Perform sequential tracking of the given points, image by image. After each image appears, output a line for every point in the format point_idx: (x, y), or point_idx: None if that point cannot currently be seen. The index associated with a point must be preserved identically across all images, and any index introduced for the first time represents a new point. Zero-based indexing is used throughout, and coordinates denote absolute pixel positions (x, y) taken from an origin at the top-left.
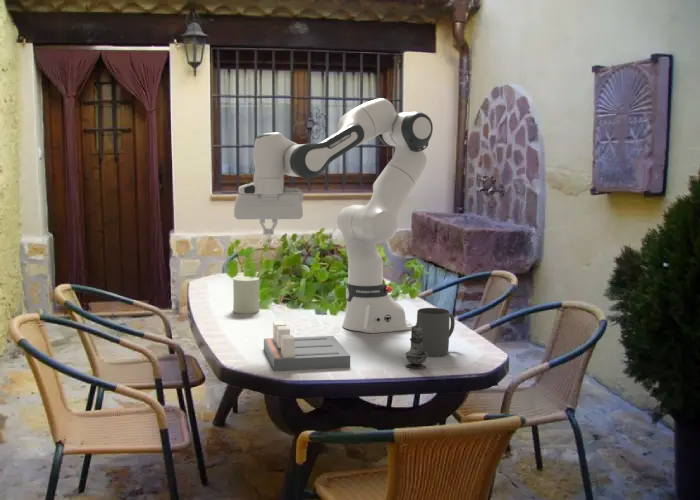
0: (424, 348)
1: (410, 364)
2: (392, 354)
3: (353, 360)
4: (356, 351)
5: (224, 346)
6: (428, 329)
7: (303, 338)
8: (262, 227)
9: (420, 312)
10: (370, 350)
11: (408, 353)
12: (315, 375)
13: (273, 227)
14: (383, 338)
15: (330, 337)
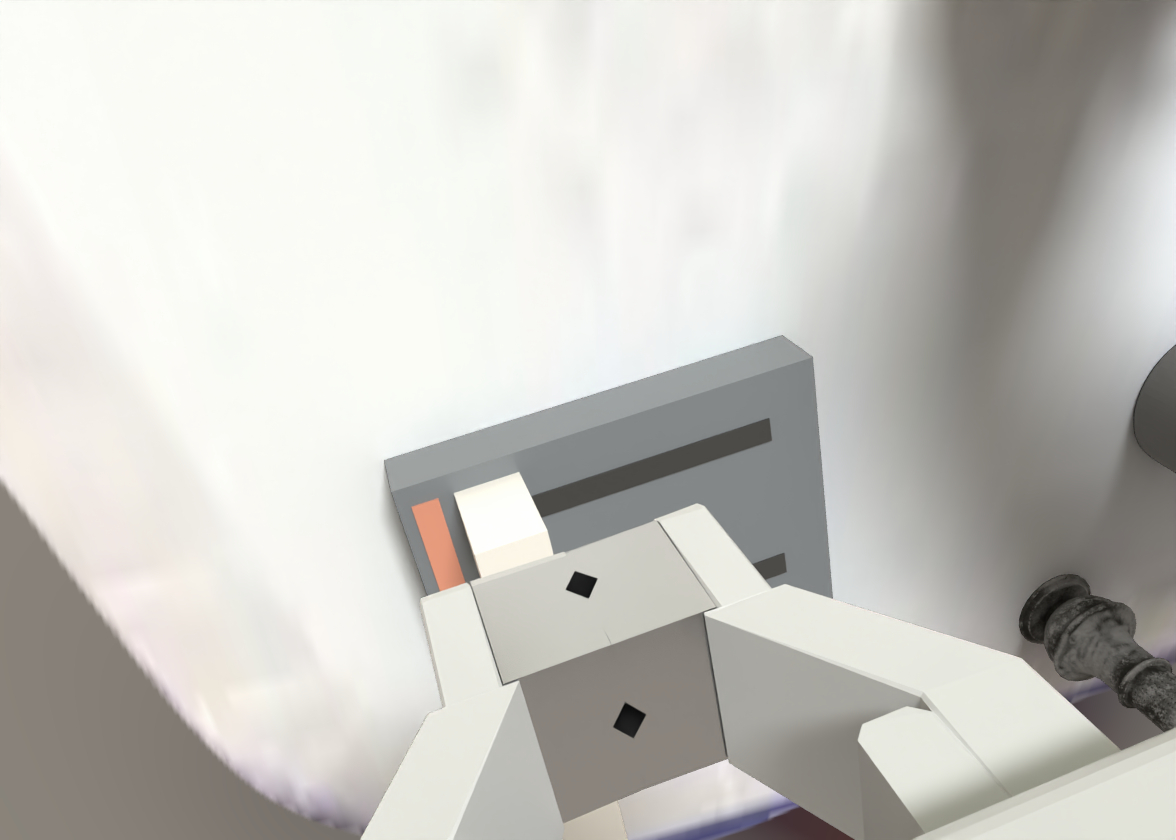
0: (1171, 469)
1: (1043, 610)
2: (1027, 449)
3: (843, 573)
4: (883, 424)
5: (94, 440)
6: None
7: (638, 447)
8: (418, 748)
9: None
10: (951, 395)
11: (1067, 663)
12: (670, 791)
13: (802, 772)
14: (1084, 120)
15: (793, 400)
